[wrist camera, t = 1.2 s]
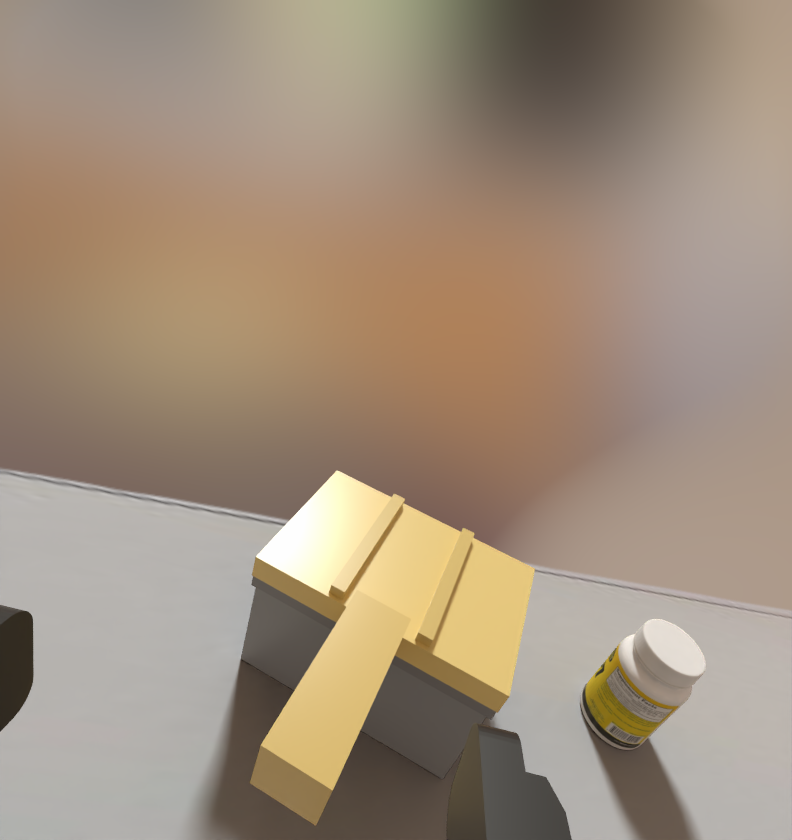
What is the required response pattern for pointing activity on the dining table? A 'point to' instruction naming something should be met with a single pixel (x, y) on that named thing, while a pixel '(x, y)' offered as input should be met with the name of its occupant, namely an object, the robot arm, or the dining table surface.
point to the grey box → (398, 694)
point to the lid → (381, 624)
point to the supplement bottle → (642, 684)
